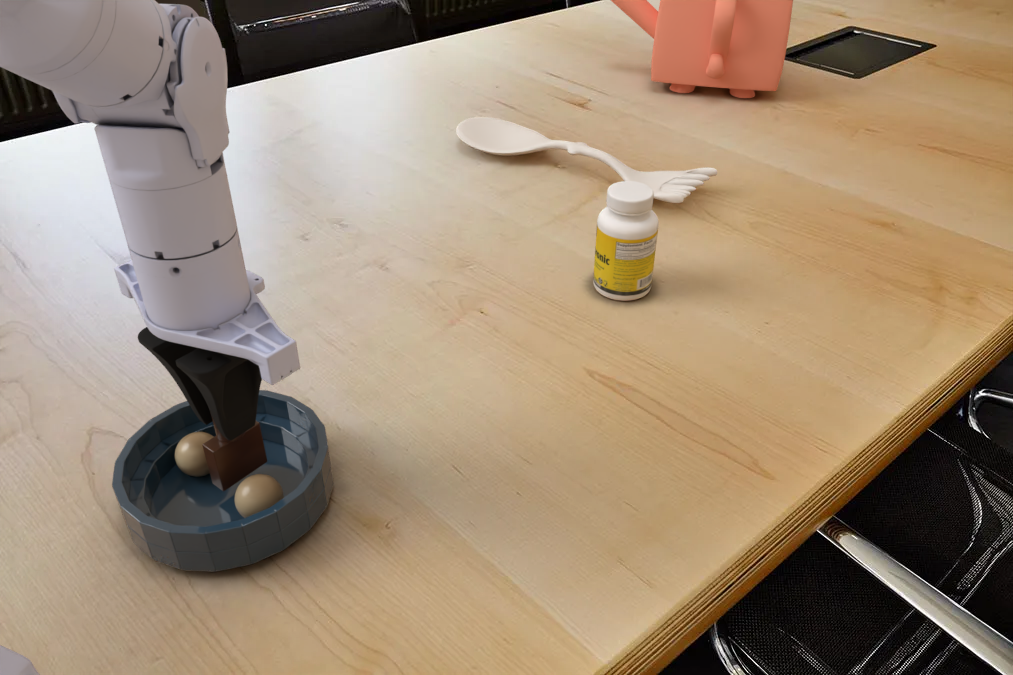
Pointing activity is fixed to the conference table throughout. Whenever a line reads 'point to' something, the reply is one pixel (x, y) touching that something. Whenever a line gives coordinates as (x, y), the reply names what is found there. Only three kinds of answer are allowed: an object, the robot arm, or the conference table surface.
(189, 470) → the bead far
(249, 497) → the bead near
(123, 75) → the robot arm
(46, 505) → the conference table surface
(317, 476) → the bowl
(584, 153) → the spoon
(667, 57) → the teapot
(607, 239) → the supplement bottle
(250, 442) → the stir paddle
